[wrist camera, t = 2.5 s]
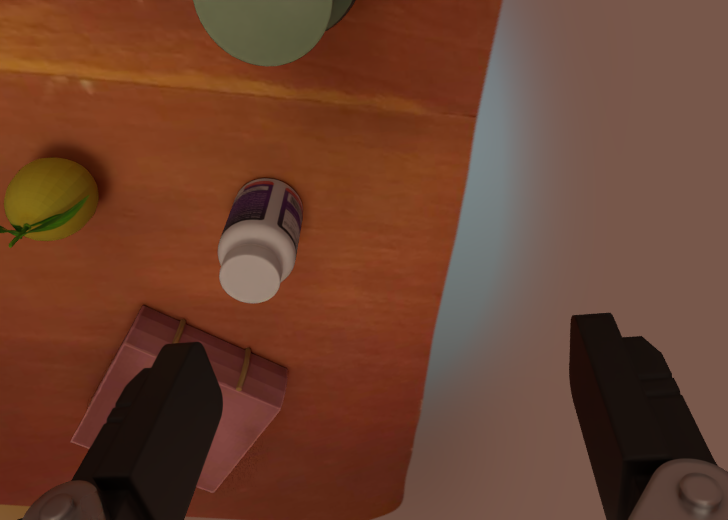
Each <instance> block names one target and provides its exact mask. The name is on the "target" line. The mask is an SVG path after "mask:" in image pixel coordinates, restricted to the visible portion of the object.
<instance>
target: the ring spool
mask: <svg viewBox="0 0 728 520" xmlns="http://www.w3.org/2000/svg"><path fill="white" fill-rule="evenodd" d="M193 2H194V5H195V9H196V12H197V14H198V17H199V19H200V21H201V23H202V25H203V27H204V28H205V30H206V31H207V33H208V34H209V35H210V37H211V38H212V39H213V40H214V41H215V42H216V43H217V45H219V46H220V47H221V48H222V49H223V50H224V51H226V52H227V53H229V54H230V55H232V56H233V57H235V58H237V59H239V60H241V61H244V62H247V63H249V64H254V65H258V66H279V65H284V64H287V63H291V62H293V61H295V60H297V59H299V58H301V57H302V56H304V55H306V54H307V53H308V52H309V51H310V50H311V49H313V48H314V46H315V45H316V44H317V43H318V42H319V40H320V39H321V37H322V36H323V34H324V32H325V31H326V30H327V29H329V28H330V27H332V26H333V25H334V24H335V23H336V22H337V21H338V20H339V19H340V18H341V17H342V16H343V15H344V14H345V12H346V11H347V9H348V8H349V6H350V4H351V2H352V0H193Z"/></svg>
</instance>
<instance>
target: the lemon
mask: <svg viewBox="0 0 728 520" xmlns="http://www.w3.org/2000/svg"><path fill="white" fill-rule="evenodd" d="M98 200H99V196H98V187H97V184H96V182H95V180H94V178H93V176H92V175H91V174H90V173H89V172H88V171H87V169H86V168H84V167H83V166H81V165H80V164H78V163H77V162H74V161H71V160H68V159H64V158H41V159H37V160H35V161H33V162H31V163H29V164H27V165H25V166H24V167H23V168H22V169H21V170H19V172H18V173H17V174H16V176H15V177H14V178H13V179H12V181H11V182H10V184H9V185H8V188H7V191H6V195H5V199H4V208H5V213H6V216H7V218H8V220H9V221H10V223H11V225H12V226H13V227H14V228H15V229H16V230H17V231H16V230H7V229H5V228H4V227H2V226H0V233H4V232H9V233H11V234H13V235H15V236H16V237H15V238H14V239H13V240H12V241H11V242H10V243H9V247H10V248H11V247H12V246H13V245H14V244H15V243H16V242H17V241H18V240H19V239H22V236H25V237H28V238H30V239H33V240H39V241H53V240H59V239H63V238H65V237H68V236H70V235H72V234H74V233H76V232H77V231H79V230H80V229H81V228H82V227H84V225H85V224H86V223H87V222H88V221H89V220H90V219H91V217H92V216H93V215H94V213H95V211H96V207H97V204H98Z"/></svg>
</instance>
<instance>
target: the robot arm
mask: <svg viewBox="0 0 728 520" xmlns="http://www.w3.org/2000/svg"><path fill="white" fill-rule="evenodd" d="M569 374H570V375H569V377H570V387H571V393H572V398H573V402H574V406H575V409H576V413H577V416H578V419H579V423H580V427H581V430H582V434H583V438H584V441H585V445H586V448H587V452H588V455H589V459H590V462H591V466H592V469H593V473H594V477H595V480H596V484H597V487H598V491H599V494H600V498H601V501H602V505H603V509H604V512H605V515H606V519H607V520H728V472H727V471H725V470H724V469H722V468H720V467H718V466H717V464H716V462H715V461H714V459H713V457H712V455H711V453H710V451H709V449H708V447H707V445H706V443H705V441H704V439H703V437H702V435H701V433H700V431H699V428H698V426H697V425H696V423H695V420H694V418H693V417H692V414H691V412H690V410H689V408H688V406H687V404H686V402H685V400H684V398H683V396H682V395H680V390H679V388H678V386H677V384H676V382H675V380H674V378H672V373H671V371H670V369H669V367H668V365H667V363H666V361H665V359H664V357H663V355H662V353H661V352H660V351H658V350H657V349H656V348H655V347H654V346H652V345H651V344H650V343H649V342H648V341H646V340H645V339H644V338H643V337H642V336H639V337H638V336H637V337H622V336H621V334H620V331H619V329H618V327H617V324H616V322H615V320H614V317H613V315H612V314H611V313H599V314H585V315H573V316H572V318H571V329H570V363H569ZM222 411H223V396H222V391H221V388H220V386H219V383H218V381H217V378H216V376H215V373H214V371H213V368H212V366H211V363H210V361H209V358H208V356H207V353H206V351H205V348H204V346H203V345H202V344H201V343H200V342H185V343H172V344H166V345H164V346H163V347H162V349H161V350H160V352H159V354H158V356H157V358H156V359H155V361H154V363H153V365H152V367H151V368H144V369H143V370H141V371H140V372H139V373H138V374H137V375H136V376H135V377H134V378H133V379H132V380H131V381H130V382H129V383H128V384H127V385H126V386H125V388H124V390H123V391H122V393H121V395H120V397H119V398H118V400H117V402H116V404H115V408H113V409H112V411H111V412H110V414H109V416H108V418H107V419H106V420H107V423H105V424H104V425H103V426H102V428H101V430H100V432H99V433H98V435H97V437H96V439H95V440H94V442H93V444H92V446H91V447H90V449H89V451H88V453H87V454H86V456H85V458H84V460H83V461H82V463H81V465H80V467H79V468H78V470H77V472H76V474H75V475H74V477H73V479H72V480H71V481H70V482H66V483H63V484H60V485H58V486H56V487H54V488H52V489H50V490H49V491H47V492H46V493H44V494H43V495H42V496H41V497H39V498H38V499H37V500H36V501H35V502H34V503H33V504H32V505H31V507H30V508H29V509H28V511H27V512H26V514H25V515H24V517H23V518H21V519H18V520H184V518H185V515H186V513H187V510H188V507H189V504H190V502H191V499H192V496H193V494H194V491H195V488H196V485H197V483H198V480H199V477H200V474H201V472H202V469H203V466H204V463H205V461H206V458H207V455H208V452H209V450H210V447H211V444H212V442H213V439H214V436H215V433H216V431H217V428H218V425H219V422H220V420H221V416H222Z"/></svg>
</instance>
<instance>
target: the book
mask: <svg viewBox="0 0 728 520" xmlns="http://www.w3.org/2000/svg"><path fill="white" fill-rule="evenodd" d="M185 342H200V343H201V344H202V345H203V346H204V348H205V351H206V353H207V356H208V358H209V361H210V363H211V366H212V368H213V371H214V373H215V376H216V378H217V381H218V383H219V386H220V388H221V391H222V396H223V411H222V416H221V420H220V422H219V425H218V428H217V431H216V433H215V436H214V439H213V442H212V444H211V447H210V450H209V452H208V455H207V458H206V461H205V463H204V466H203V469H202V472H201V474H200V477H199V480H198V483H197V485H196V487H198V488H200V489H203V490H206V491H209V492H212V493H214V492H215V491H216V489H217V488H218V487H219V486H220V484H221V483H222V482H223V481H224V479H225V478H226V477H227V476H228V474H229V473H230V472H231V471H232V469H233V468H234V467H235V466H236V464H237V463H238V462H239V461H240V459H241V458H242V457H243V456H244V455H245V453H246V452H247V451H248V450H249V448H250V447H251V446H252V445H253V443H254V442H255V441H256V440H257V438H258V437H259V436H260V435H261V433H262V432H263V431H264V430H265V428H266V427H267V426H268V425H269V423H270V422H271V421H272V420H273V418H274V417H275V416H276V415H277V413H278V412H279V411H280V410H281V407H282V403H283V399H284V395H285V391H286V385H287V369H286V368H284V367H282V366H279V365H277V364H275V363H273V362H270V361H268V360H266V359H264V358H261V357H259V356H257V355H254V354H252V353H251V349H250V348H246V351H245V350H243V349H241V348H239V347H236V346H234V345H232V344H230V343H227V342H225V341H223V340H221V339H218V338H216V337H214V336H211V335H209V334H207V333H205V332H202V331H200V330H198V329H196V328H193V327H191V326H189V325H187V324H186V320H184V319H181V320H180V321H178V320H175V319H173V318H171V317H168V316H166V315H164V314H162V313H159V312H157V311H155V310H153V309H150V308H148V307H146V306H144V305H143V306H142V308H141V309H140V311H139V313H138V315H137V317H136V319H135V321H134V322H133V324H132V326H131V328H130V330H129V332H128V334H127V335H126V337H125V339H124V341H123V343H122V345H121V347H120V348H119V350H118V352H117V354H116V356H115V358H114V360H113V361H112V363H111V365H110V367H109V369H108V371H107V373H106V374H105V376H104V378H103V380H102V382H101V384H100V385H99V387H98V389H97V391H96V393H95V395H94V397H93V398H92V400H91V402H90V404H89V406H88V407H89V408H88V410H87V412H86V414H85V415H84V417H83V419H82V421H81V423H80V425H79V427H78V428H77V430H76V432H75V434H74V436H73V438H72V440H71V442H72V443H75V444H77V445H80V446H83V447H86V448H89V449H90V447H91V446H92V444H93V442H94V440H95V439H96V437H97V435H98V433H99V432H100V430H101V428H102V426H103V425H104V424H105V423H107V420H106V419H107V418H108V416H109V414H110V412H111V411H112V409H113V408H115V404H116V402H117V400H118V398H119V397H120V395H121V393H122V391H123V390H124V388H125V386H126V385H127V384H128V383H129V382H130V381H131V380H132V379H133V378H134V377H135V376H136V375H137V374H138V373H139V372H140V371H141V370H143V369H144V368H151V367H152V365H153V363H154V361H155V359H156V358H157V356H158V354H159V352H160V350H161V349H162V347H163V346H164V345H166V344H172V343H185Z"/></svg>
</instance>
